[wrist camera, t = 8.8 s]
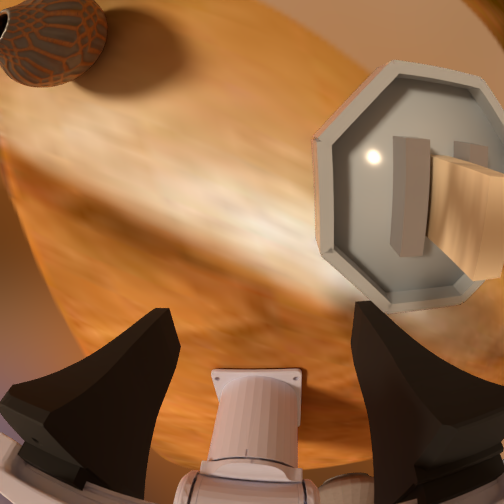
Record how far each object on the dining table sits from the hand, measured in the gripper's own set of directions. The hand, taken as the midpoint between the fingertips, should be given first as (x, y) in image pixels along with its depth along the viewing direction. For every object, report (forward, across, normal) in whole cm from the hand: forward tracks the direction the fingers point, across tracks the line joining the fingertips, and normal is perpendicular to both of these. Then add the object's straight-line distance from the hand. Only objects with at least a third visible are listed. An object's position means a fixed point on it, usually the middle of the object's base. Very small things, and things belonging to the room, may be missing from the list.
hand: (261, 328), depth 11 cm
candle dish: (+9, -11, -3) cm, 15 cm away
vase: (+10, +12, -16) cm, 22 cm away
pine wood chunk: (+8, -11, -3) cm, 14 cm away
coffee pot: (+10, -10, +38) cm, 40 cm away
